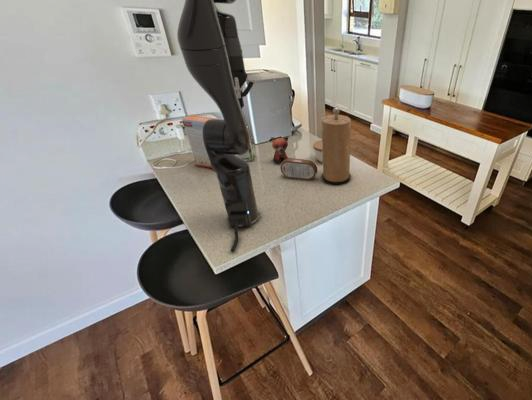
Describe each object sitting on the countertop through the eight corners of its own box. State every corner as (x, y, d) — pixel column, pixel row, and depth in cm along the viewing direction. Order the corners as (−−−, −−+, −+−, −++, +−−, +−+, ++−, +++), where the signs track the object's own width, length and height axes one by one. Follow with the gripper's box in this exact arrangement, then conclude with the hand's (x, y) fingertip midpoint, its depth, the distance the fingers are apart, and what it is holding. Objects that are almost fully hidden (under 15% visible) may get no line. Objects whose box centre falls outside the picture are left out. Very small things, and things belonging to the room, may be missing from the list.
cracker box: (232, 165, 123) (221, 118, 111) (223, 171, 118) (211, 123, 106) (205, 159, 126) (192, 113, 114) (195, 165, 121) (180, 118, 109)
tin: (318, 177, 118) (317, 159, 113) (316, 181, 115) (315, 163, 110) (283, 174, 118) (281, 156, 114) (280, 178, 116) (278, 159, 111)
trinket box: (322, 167, 125) (321, 147, 120) (309, 158, 132) (308, 139, 127) (341, 161, 131) (341, 142, 126) (327, 153, 138) (327, 134, 133)
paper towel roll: (351, 185, 114) (353, 112, 97) (321, 185, 113) (319, 112, 96) (349, 171, 124) (351, 103, 107) (322, 171, 123) (320, 102, 106)
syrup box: (239, 161, 126) (232, 130, 118) (240, 156, 131) (234, 126, 122) (253, 160, 127) (247, 130, 119) (253, 155, 132) (248, 125, 124)
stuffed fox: (287, 153, 135) (285, 129, 128) (292, 163, 127) (289, 138, 120) (271, 155, 133) (268, 131, 126) (275, 166, 124) (271, 140, 117)
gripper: (203, 53, 84) (216, 111, 94) (248, 55, 86) (256, 112, 95) (211, 50, 91) (223, 104, 100) (253, 52, 92) (261, 105, 102)
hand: (240, 108), depth 98 cm, fingers closed
